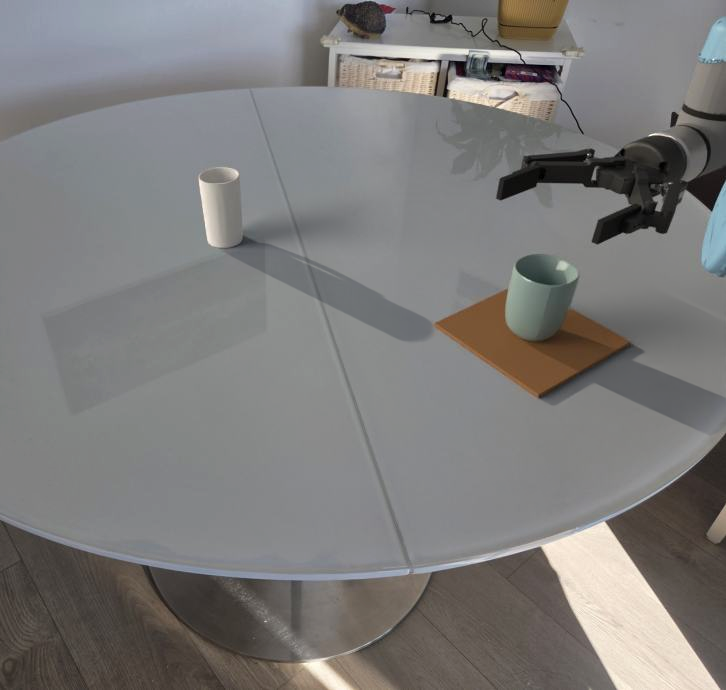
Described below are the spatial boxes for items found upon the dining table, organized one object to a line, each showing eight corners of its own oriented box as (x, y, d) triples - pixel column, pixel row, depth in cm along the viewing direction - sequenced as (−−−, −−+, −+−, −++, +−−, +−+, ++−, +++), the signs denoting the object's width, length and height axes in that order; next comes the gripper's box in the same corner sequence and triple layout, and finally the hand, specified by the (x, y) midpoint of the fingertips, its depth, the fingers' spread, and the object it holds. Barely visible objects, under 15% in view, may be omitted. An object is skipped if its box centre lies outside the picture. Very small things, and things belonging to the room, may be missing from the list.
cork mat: (629, 344, 85) (631, 341, 84) (537, 398, 78) (539, 394, 77) (521, 284, 97) (522, 281, 97) (433, 326, 90) (434, 322, 90)
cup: (572, 334, 86) (592, 271, 80) (535, 357, 83) (553, 293, 77) (525, 308, 91) (540, 247, 85) (488, 328, 88) (501, 266, 82)
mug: (244, 248, 110) (239, 182, 102) (205, 250, 110) (197, 185, 102) (244, 220, 117) (239, 158, 110) (208, 222, 117) (200, 160, 110)
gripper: (745, 227, 76) (634, 284, 68) (567, 161, 93) (461, 201, 84) (773, 166, 71) (658, 220, 63) (581, 109, 88) (470, 146, 80)
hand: (545, 209), depth 74 cm, fingers open, 13 cm apart
